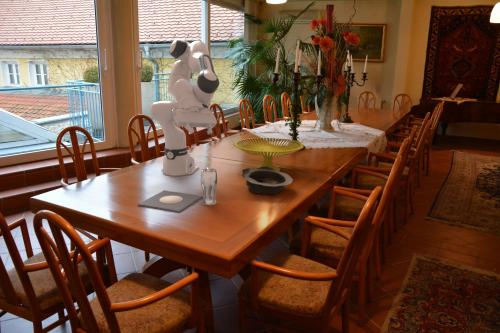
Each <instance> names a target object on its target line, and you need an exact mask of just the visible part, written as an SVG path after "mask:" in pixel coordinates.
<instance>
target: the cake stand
mask: <svg viewBox="0 0 500 333" xmlns="http://www.w3.org/2000/svg"><path fill="white" fill-rule="evenodd" d="M233 146H234V147H235V148H237V149H239V150H241V151H243V152H245V153H246V154H250V155H253V156H254V155H255V156H262V157H263V164H261V165H260V166H258V167H256V168H259V167H262V166H263V167H270V168H273V169H274V170H275V171H279V172H281V169H280V168H279V167H277V166H275V165H273V161H274V159H273V158H274V157H280V156H287V155H291V154H293V153H295V152H297V151H300V150H303V148H304V147H305V144H303V143H302V142H300V141H297V140H293V139H288V138H285V139H284V138H277V137H251V138H244V139H240V140H236V141H234V142H233Z"/></svg>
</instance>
